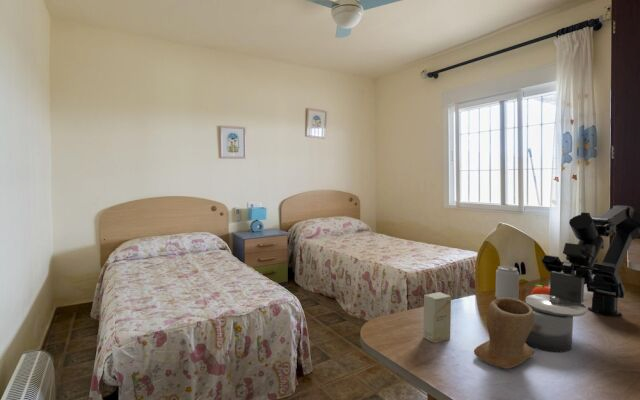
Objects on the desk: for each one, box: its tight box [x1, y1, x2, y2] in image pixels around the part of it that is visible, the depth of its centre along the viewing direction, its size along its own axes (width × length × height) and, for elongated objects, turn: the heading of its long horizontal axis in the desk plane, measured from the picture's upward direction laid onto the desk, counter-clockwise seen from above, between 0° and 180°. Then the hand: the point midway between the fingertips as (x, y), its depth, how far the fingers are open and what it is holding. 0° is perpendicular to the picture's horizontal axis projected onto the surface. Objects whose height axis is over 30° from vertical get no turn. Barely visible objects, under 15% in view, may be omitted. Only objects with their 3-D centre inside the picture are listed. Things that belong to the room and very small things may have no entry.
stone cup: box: [473, 297, 535, 369], centre depth 85 cm, size 15×12×15 cm
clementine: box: [529, 284, 550, 295], centre depth 122 cm, size 8×7×7 cm
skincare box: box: [423, 291, 452, 344], centre depth 97 cm, size 6×4×12 cm
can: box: [494, 265, 520, 300], centre depth 128 cm, size 8×8×12 cm
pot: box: [525, 308, 574, 353], centre depth 98 cm, size 13×20×8 cm, turn 31°
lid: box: [525, 271, 587, 318], centre depth 98 cm, size 14×14×8 cm
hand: (568, 291), depth 102 cm, fingers closed, pressing on lid
